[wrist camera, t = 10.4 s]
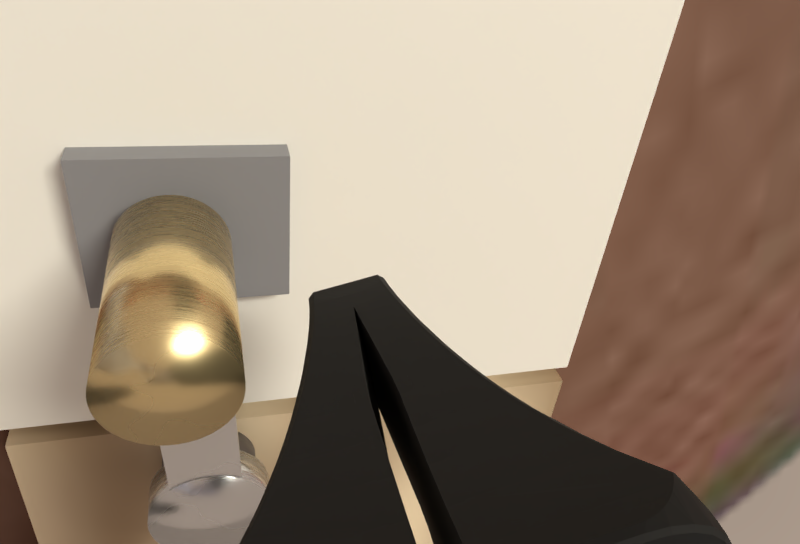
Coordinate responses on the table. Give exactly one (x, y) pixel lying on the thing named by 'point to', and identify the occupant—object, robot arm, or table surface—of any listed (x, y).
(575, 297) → the door
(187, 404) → the bar
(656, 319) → the table surface
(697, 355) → the table surface
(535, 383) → the beige slab
